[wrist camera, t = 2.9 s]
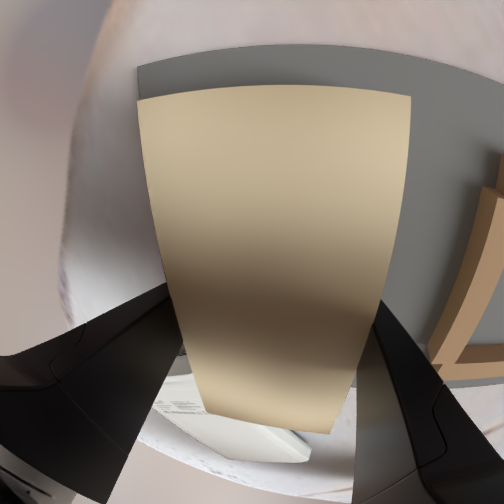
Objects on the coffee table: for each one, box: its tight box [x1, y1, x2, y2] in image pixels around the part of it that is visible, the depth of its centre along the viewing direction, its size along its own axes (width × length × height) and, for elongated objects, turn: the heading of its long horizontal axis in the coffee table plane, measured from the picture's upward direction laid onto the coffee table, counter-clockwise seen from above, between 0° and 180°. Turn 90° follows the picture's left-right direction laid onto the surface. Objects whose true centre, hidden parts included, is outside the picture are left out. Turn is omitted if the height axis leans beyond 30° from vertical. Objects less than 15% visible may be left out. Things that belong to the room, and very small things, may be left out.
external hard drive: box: [152, 355, 311, 463], centre depth 17 cm, size 2×8×12 cm
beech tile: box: [137, 85, 411, 434], centre depth 8 cm, size 11×5×2 cm, turn 2°
